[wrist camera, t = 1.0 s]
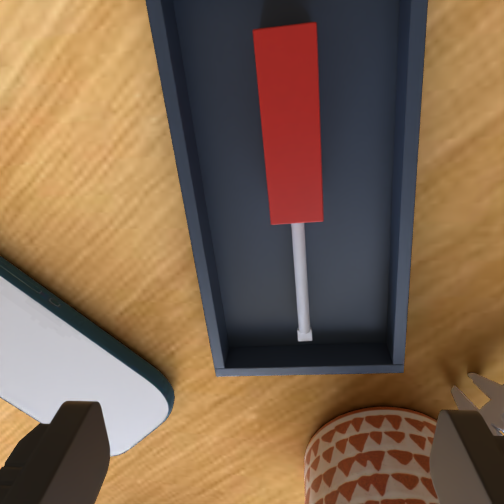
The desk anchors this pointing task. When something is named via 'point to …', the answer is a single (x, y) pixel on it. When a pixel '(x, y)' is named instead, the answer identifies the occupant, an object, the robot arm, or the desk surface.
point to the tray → (333, 180)
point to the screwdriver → (291, 139)
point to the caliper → (494, 412)
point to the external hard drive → (73, 364)
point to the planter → (371, 459)
